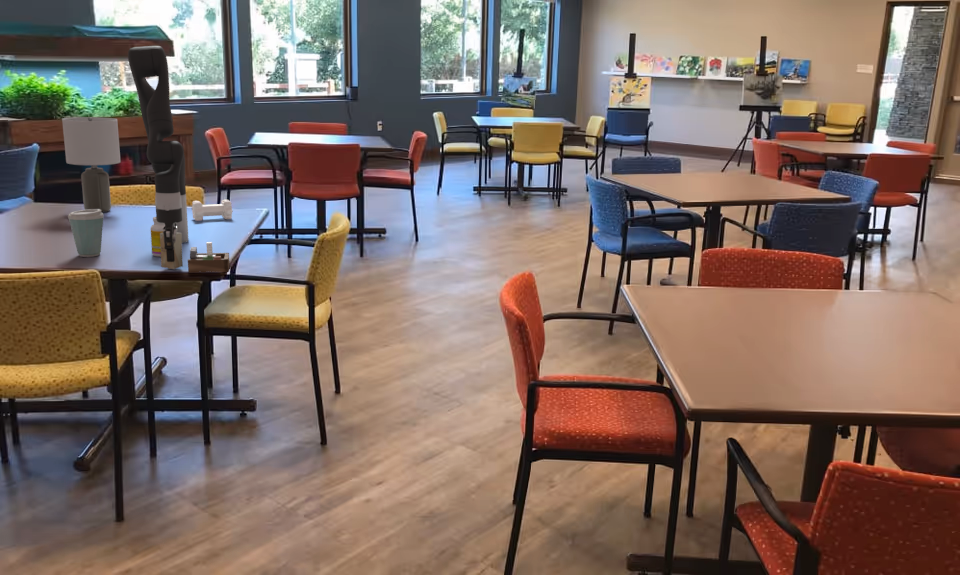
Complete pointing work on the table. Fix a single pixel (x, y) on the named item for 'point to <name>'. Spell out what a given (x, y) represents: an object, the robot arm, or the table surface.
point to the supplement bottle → (156, 237)
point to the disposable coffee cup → (87, 231)
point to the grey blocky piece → (194, 255)
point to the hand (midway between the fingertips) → (171, 258)
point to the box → (177, 252)
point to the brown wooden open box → (209, 263)
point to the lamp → (92, 155)
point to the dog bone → (212, 210)
